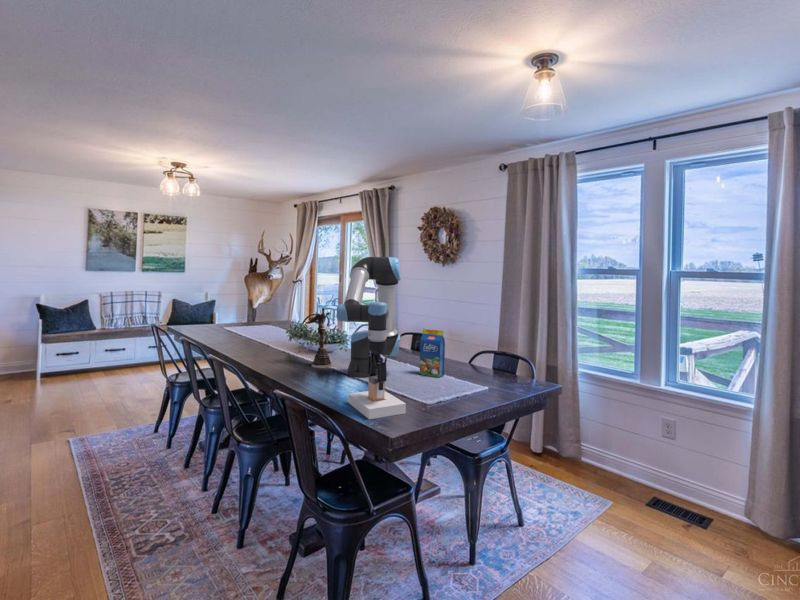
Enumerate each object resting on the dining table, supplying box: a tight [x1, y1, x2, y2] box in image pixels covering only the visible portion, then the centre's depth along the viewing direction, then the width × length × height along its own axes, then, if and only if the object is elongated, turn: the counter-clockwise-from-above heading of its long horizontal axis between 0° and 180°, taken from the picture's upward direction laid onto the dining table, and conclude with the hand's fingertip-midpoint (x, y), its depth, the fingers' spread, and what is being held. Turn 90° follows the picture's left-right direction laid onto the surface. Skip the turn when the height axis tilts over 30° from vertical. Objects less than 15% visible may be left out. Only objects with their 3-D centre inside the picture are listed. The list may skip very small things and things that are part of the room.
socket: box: [347, 390, 407, 420], centre depth 174 cm, size 22×16×4 cm
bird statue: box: [304, 307, 332, 369], centre depth 245 cm, size 17×13×35 cm
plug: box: [367, 376, 386, 402], centre depth 174 cm, size 5×5×13 cm
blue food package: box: [419, 328, 446, 378], centre depth 228 cm, size 6×12×25 cm, turn 61°
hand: (376, 395), depth 174 cm, fingers open, 6 cm apart
